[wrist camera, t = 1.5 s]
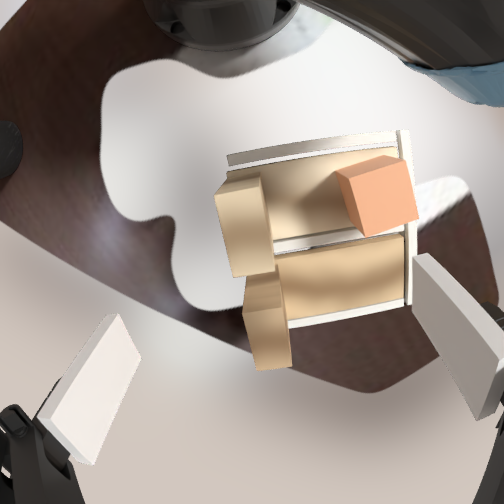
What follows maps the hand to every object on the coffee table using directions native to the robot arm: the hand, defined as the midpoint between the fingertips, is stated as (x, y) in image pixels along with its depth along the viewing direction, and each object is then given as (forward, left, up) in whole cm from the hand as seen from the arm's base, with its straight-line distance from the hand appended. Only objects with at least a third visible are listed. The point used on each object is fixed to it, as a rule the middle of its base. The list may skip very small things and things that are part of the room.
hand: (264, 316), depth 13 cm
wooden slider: (-1, +5, -19) cm, 19 cm away
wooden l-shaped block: (+8, +5, -19) cm, 21 cm away
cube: (-1, +10, -17) cm, 20 cm away
